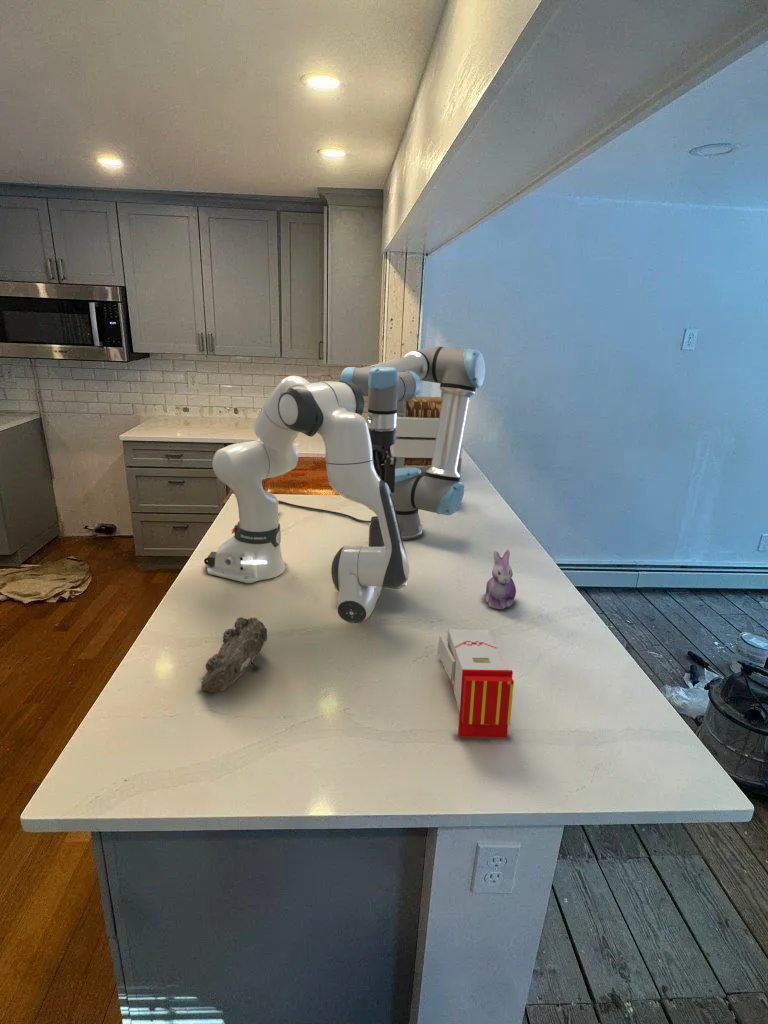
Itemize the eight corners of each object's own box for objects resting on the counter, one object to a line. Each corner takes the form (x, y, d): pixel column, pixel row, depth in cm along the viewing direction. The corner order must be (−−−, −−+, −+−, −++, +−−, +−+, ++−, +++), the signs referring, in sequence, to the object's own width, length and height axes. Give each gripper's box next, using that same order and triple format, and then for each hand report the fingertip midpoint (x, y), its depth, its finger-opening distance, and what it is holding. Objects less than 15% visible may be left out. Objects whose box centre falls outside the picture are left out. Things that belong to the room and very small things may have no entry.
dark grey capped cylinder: (386, 584, 163) (389, 518, 156) (376, 589, 160) (378, 522, 153) (374, 579, 166) (376, 514, 159) (364, 584, 162) (366, 518, 156)
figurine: (497, 613, 149) (504, 562, 144) (474, 596, 158) (480, 547, 153) (525, 606, 154) (532, 556, 149) (501, 590, 162) (508, 542, 157)
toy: (488, 613, 130) (523, 677, 101) (484, 667, 133) (517, 744, 104) (435, 612, 130) (455, 676, 101) (432, 666, 133) (451, 743, 103)
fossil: (219, 620, 133) (266, 590, 128) (247, 647, 136) (294, 619, 131) (181, 686, 113) (234, 654, 108) (214, 717, 116) (267, 687, 111)
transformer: (382, 463, 289) (386, 382, 275) (445, 464, 293) (451, 384, 279) (390, 482, 257) (394, 392, 243) (460, 483, 261) (468, 394, 247)
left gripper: (405, 577, 146) (413, 556, 159) (329, 568, 149) (342, 547, 162) (404, 599, 148) (411, 576, 161) (328, 589, 151) (342, 567, 164)
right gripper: (354, 422, 153) (352, 503, 162) (384, 437, 138) (381, 525, 147) (379, 420, 157) (376, 500, 165) (411, 434, 142) (406, 521, 150)
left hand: (376, 562), depth 161 cm, fingers closed on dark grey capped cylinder, 4 cm apart
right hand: (378, 511), depth 156 cm, fingers closed on lid, 5 cm apart
